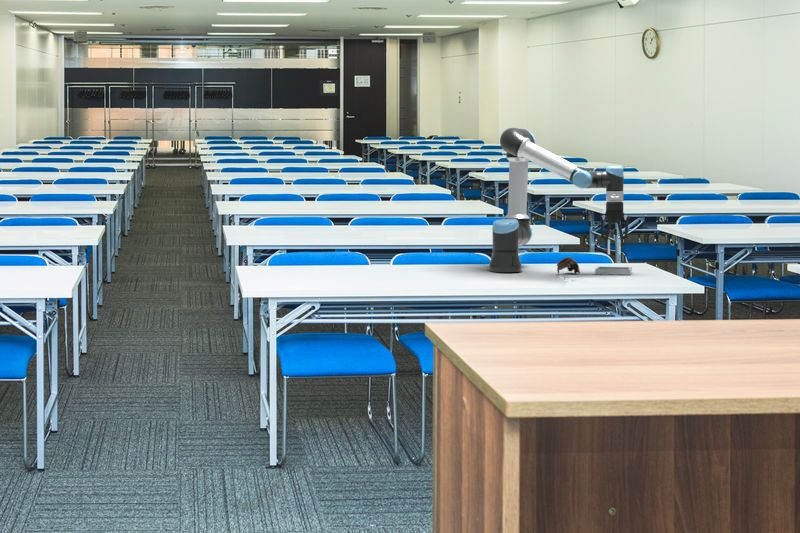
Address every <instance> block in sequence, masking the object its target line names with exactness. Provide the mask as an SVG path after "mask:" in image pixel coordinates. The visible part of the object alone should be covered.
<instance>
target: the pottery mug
mask: <svg viewBox="0 0 800 533" xmlns="http://www.w3.org/2000/svg"><path fill="white" fill-rule="evenodd" d="M556 267H557V268H556V269H557V270H556V271H557V274H560V271H561V270H564V269H566V268H567V270H568V272H573V273H574V274H577V273H578V274H580V273H581V271H580V266H579V264H578V262H577V261H576V260H575V259H572V257H571V256H568V257H565V258H562V259H561V260H560V261H558V262H557V264H556Z"/></svg>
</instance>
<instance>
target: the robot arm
mask: <svg viewBox="0 0 800 533" xmlns="http://www.w3.org/2000/svg"><path fill="white" fill-rule="evenodd" d="M499 144H500V148H502V150H503V151H504V152H506V159H507V161H509V165H508V166H509V170H508V171H509V172H508V195H507V196H508V199H507V214H506V215H505V216H504V217H503V218H502V219H497V220H494V221H493V223H492V228H491V230H492V254H491V258H490V261H489V264H488V272H491V273H493V272H494V273H520V272H521V273H522V272H523V265H522V261H521V259H520V256H519V248H520V247H523V246H526V245H527V244H528V243H529V242H530V241H531V239H532V237H533V228H532V226H531V225H530V223H531V222H530V220H531V219H530V216H529V215H528V213H527V209H528V208H527V207H528V206H527V205H528V183H529V182H528V178H529V162H532V163H534V164H536V165H537V166H538V167H541V168H543V169H545V170H547V171H549V172H550V173H553V174H555V175H557V176H559V177H560V178H562V179H565V180H566V181H568V182H570V183H572V184H573V185H574V186H575V187H577V188H579V189H605V191H606V192H605V200H606V203H605V212H604V214H602V215H600V216H599V217H598V218H599V221H600V238H601V239H604V241H605V242H604V245H605V247H607V255H611V240H610V239H609V238H610V232H611V228H612V223H617V227H618V228H617V229H618V233H619V238H620V239H618V255H621V254H622V253H621V251H622V249H621V248H623V247H624V240H625V239H627V238H628V237H629V236H628V235H629V220H630V218H631V217H630V215H627V214H625V212H624V182H625V181H624V180H625V179H624V178H625V176H624V167H622V166H615V165H613V166H607V167H606V168H605V170H600V171H599V170H598V171H597V170H595V171H593V170H586V169H584V168H582V167H580V166H578V165H576V164H574V163H572V162H570V161H568V160H566V159H565V158H563V157H561V156H558V155H557V154H555V153H553V152H551V151H549V150H547V149H545V148H543V147H541V146H540V145H538V144H536V138H535V136H534V135H533V133H532V132H531V131H529V130H527V129H525V128H517V127H509V128H507V129H505V130H504V131H503V132H502V133H501V135H500V137H499ZM623 218H624V221H625V222H624V223H625V224H624V233H623V229H622V224H621V221H622V220H623ZM605 219H606V220H607V221H608V224H607V228H606V232H605V221H604V220H605Z"/></svg>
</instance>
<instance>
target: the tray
mask: <svg viewBox="0 0 800 533" xmlns="http://www.w3.org/2000/svg"><path fill="white" fill-rule="evenodd" d="M632 270H633V266H632V267H631V266H597V267H596V268H595V269H594V272H595V273H594V275H597V276H631V275H632V273H633V271H632Z"/></svg>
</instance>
